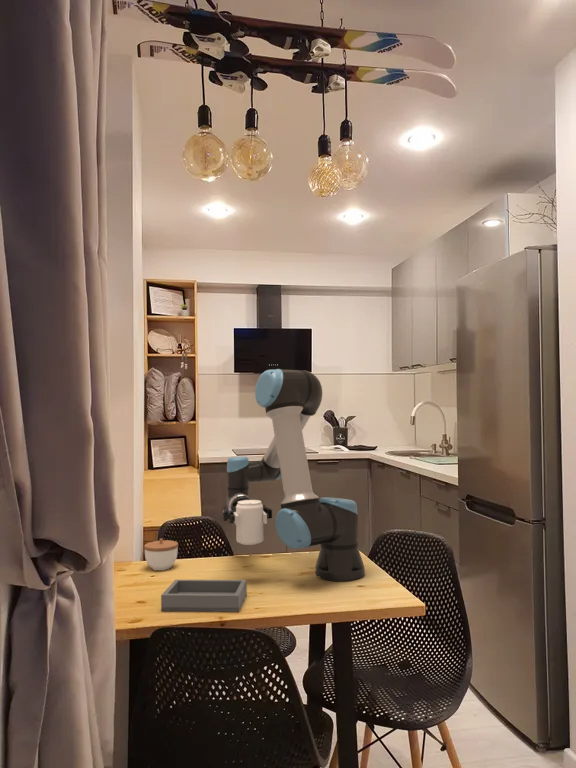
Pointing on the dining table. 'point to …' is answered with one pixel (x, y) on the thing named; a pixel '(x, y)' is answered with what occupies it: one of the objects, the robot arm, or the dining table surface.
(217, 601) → the parts tray
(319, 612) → the dining table surface
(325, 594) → the dining table surface
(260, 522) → the beverage can
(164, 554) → the lidded jar
